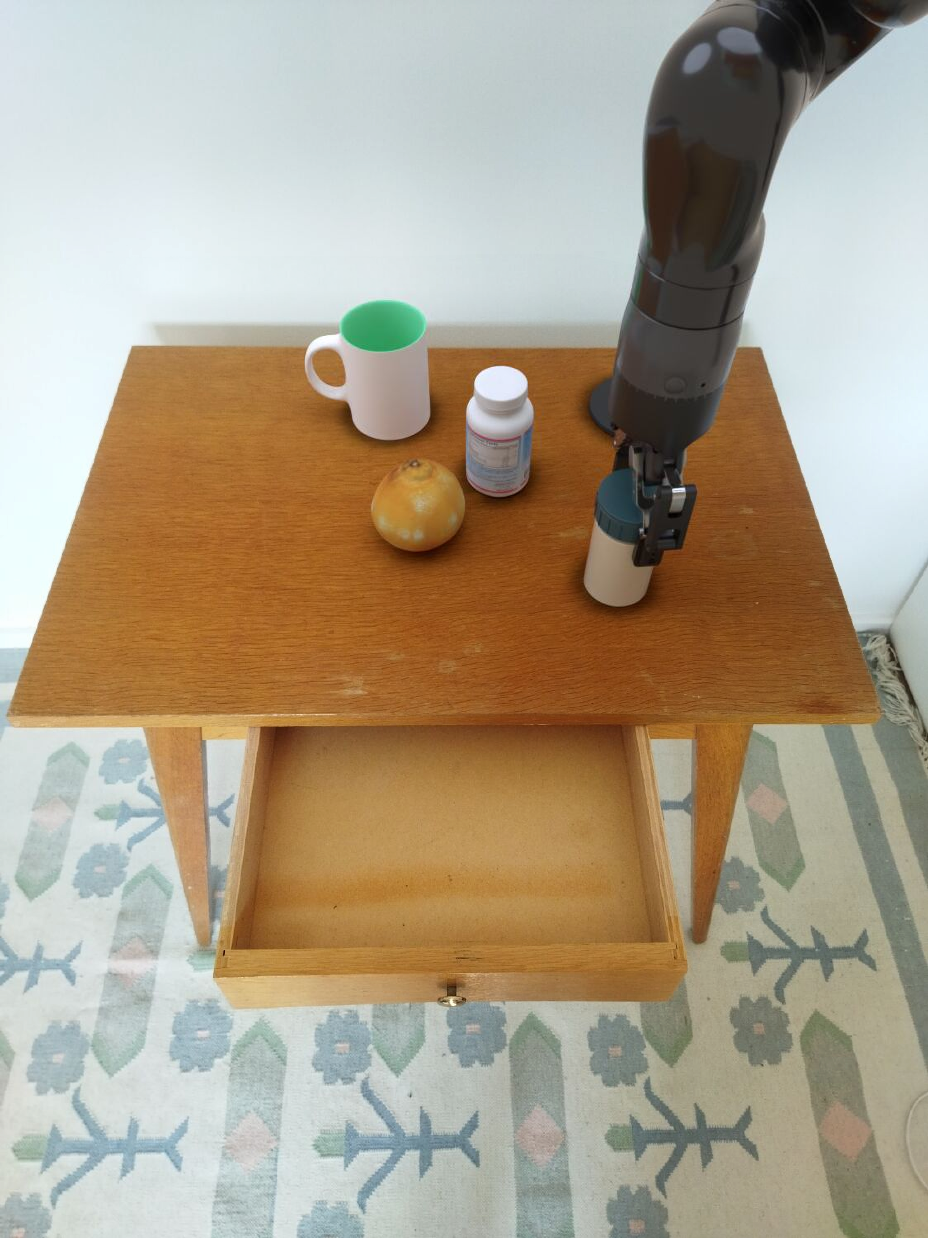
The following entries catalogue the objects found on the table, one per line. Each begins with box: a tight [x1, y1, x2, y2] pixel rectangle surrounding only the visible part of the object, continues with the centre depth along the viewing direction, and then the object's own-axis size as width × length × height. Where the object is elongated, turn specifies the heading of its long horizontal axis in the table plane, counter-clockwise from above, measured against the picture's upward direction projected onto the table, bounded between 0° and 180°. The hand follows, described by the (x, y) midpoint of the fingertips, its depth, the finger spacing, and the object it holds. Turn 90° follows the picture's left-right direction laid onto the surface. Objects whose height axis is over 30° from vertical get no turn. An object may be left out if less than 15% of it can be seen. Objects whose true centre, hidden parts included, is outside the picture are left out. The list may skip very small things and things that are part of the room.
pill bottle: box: [465, 365, 535, 498], centre depth 75 cm, size 6×6×11 cm
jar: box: [583, 518, 655, 607], centre depth 68 cm, size 6×6×10 cm
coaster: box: [588, 377, 617, 437], centre depth 85 cm, size 10×10×1 cm
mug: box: [304, 299, 431, 441], centre depth 80 cm, size 12×8×10 cm
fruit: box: [370, 457, 466, 552], centre depth 73 cm, size 8×8×8 cm
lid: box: [593, 468, 658, 543], centre depth 64 cm, size 6×6×2 cm
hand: (633, 522), depth 67 cm, fingers open, 8 cm apart
